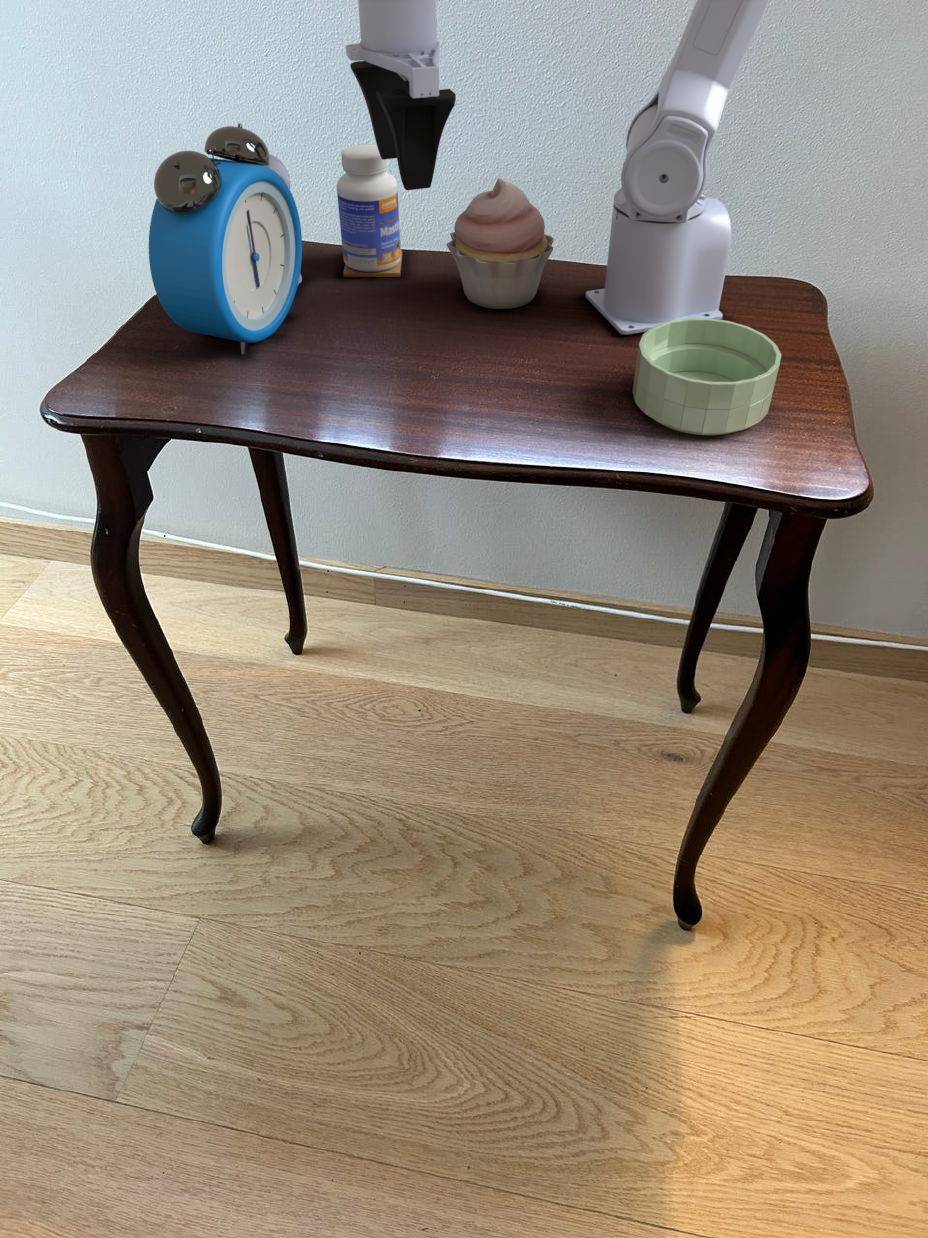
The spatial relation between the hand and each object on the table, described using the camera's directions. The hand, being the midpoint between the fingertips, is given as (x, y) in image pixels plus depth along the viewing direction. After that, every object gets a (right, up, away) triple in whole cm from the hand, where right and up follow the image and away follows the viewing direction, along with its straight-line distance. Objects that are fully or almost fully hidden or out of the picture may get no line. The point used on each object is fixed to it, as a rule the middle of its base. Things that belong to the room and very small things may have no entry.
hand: (404, 171), depth 78 cm
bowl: (+22, -21, -7) cm, 31 cm away
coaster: (-4, -3, +12) cm, 13 cm away
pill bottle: (-4, -3, +11) cm, 12 cm away
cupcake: (+8, -8, +7) cm, 13 cm away
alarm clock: (-14, -13, +2) cm, 19 cm away
